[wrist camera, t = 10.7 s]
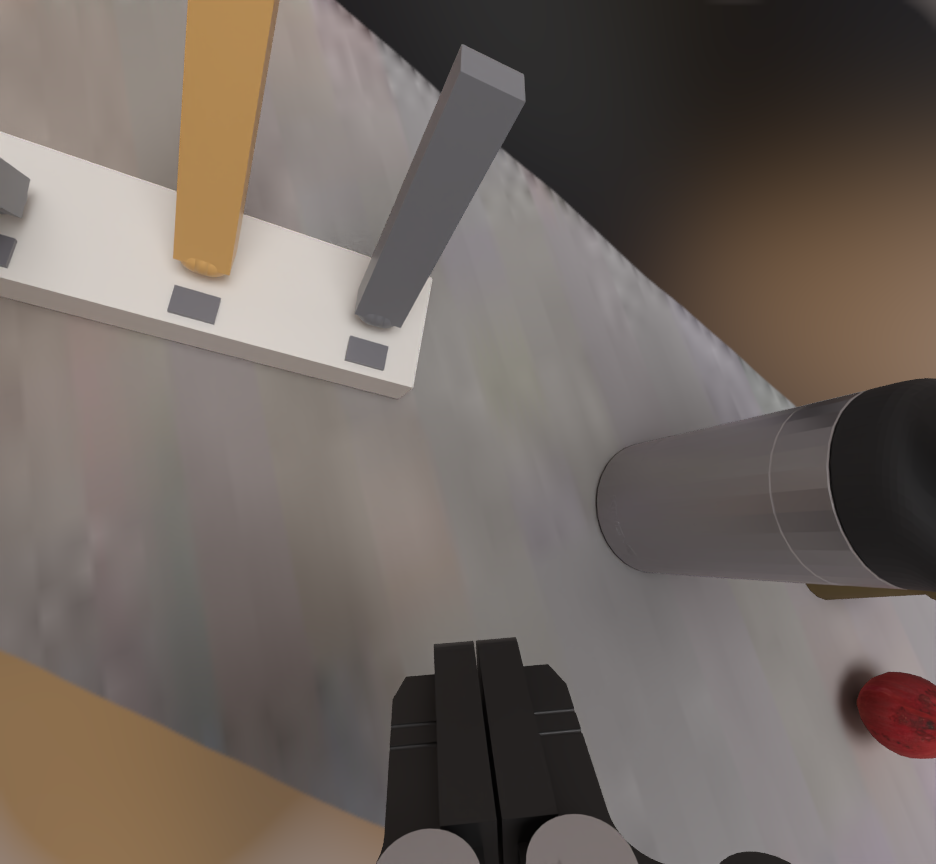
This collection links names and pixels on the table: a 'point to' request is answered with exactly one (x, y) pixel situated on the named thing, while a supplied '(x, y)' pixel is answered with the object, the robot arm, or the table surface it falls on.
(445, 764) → the robot arm
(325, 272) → the lever base
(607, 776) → the table surface
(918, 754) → the red oval lump
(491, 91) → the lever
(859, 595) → the cork
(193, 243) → the lever middle
